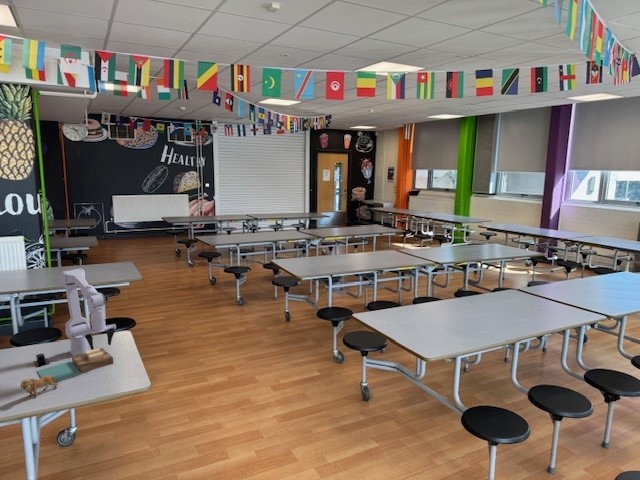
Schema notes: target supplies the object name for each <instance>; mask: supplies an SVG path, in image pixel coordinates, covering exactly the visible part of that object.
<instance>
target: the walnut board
mask: <svg viewBox="0 0 640 480" xmlns="http://www.w3.org/2000/svg"><path fill="white" fill-rule="evenodd" d="M98 349H99V350H101V351H102V352H103V353H104V357H103V358H100V359H96V360H93V361H90V360H89V359H88V358H87V357H86V356H85V353H82V354H79V355H75V356H73V355H71V362H72V363H73V364H74V366H75V367H76V368H77V369H78V370H79V372H80V373H81V374H83V373H86V372H89V371H93V370H96V369H97V370H98V369H100V368H103V367H107V366H110V365H112V364H114V357H113V356H112V355H111V354H110V353H109V352H107V350H105V349H104V347H101V348H98Z"/></svg>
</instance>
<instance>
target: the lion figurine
mask: <svg viewBox="0 0 640 480" xmlns="http://www.w3.org/2000/svg"><path fill="white" fill-rule="evenodd" d="M43 386H45V388H43V391H46V390H48V388H49V386H53V390H57V388H58V383H57V382H55V380H54V378H53V377H52V376H50V375H47V376H44V377H42V378H41V377H40V378H38V379H35V378H26V379H23V380H22V381H21V383H20V388H21V390H22V391H23V392H25V393H28V394H29V395H28V398H33V399H36V398H38V392H37V391H38V389H40V388H42V387H43Z"/></svg>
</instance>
